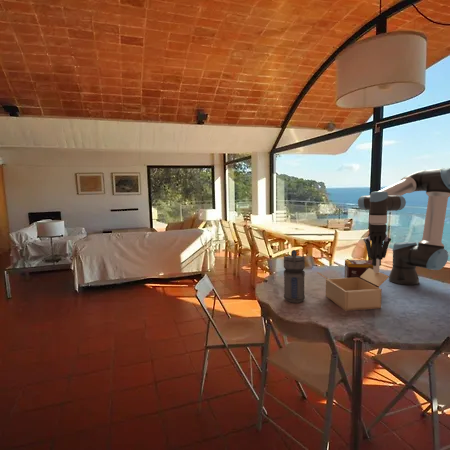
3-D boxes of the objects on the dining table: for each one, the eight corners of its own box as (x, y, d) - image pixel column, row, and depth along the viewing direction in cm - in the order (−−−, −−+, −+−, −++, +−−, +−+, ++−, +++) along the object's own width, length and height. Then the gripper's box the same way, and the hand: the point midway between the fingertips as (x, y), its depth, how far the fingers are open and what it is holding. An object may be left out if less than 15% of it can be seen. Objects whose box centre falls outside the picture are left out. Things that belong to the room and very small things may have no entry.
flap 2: (360, 277, 153) (369, 268, 153) (379, 286, 137) (389, 276, 137) (359, 276, 153) (369, 267, 153) (378, 285, 137) (388, 276, 137)
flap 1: (327, 278, 151) (317, 271, 150) (343, 288, 136) (331, 280, 135) (327, 279, 151) (317, 272, 150) (342, 289, 136) (331, 281, 135)
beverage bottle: (304, 295, 156) (304, 248, 153) (305, 304, 143) (305, 253, 141) (284, 294, 158) (283, 248, 156) (283, 303, 145) (283, 253, 143)
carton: (357, 293, 156) (357, 277, 155) (381, 308, 136) (382, 289, 135) (325, 295, 155) (325, 278, 154) (345, 311, 134) (345, 291, 133)
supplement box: (379, 293, 156) (379, 264, 154) (347, 292, 159) (348, 263, 157) (373, 287, 166) (374, 259, 164) (344, 286, 169) (344, 259, 167)
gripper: (385, 222, 147) (383, 269, 149) (360, 223, 146) (359, 270, 148) (395, 224, 139) (393, 273, 142) (369, 225, 138) (367, 274, 141)
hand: (376, 272), depth 145 cm, fingers closed
